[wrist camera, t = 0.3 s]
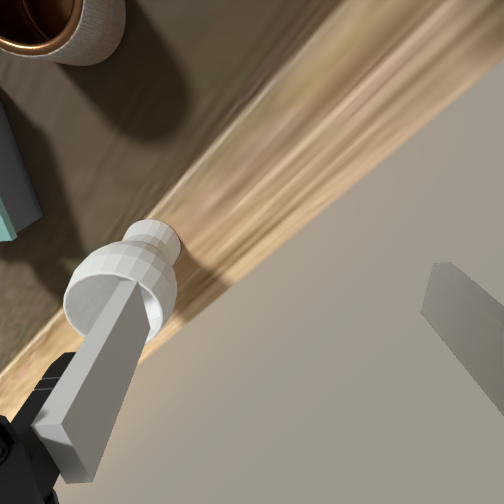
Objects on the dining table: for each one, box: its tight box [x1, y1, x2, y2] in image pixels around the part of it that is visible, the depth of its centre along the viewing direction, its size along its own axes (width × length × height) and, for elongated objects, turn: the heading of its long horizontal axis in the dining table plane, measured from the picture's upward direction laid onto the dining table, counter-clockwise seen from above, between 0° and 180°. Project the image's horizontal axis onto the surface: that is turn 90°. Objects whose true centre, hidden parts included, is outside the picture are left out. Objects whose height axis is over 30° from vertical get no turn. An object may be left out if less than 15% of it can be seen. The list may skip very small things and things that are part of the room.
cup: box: [63, 219, 181, 344], centre depth 37 cm, size 11×11×15 cm
